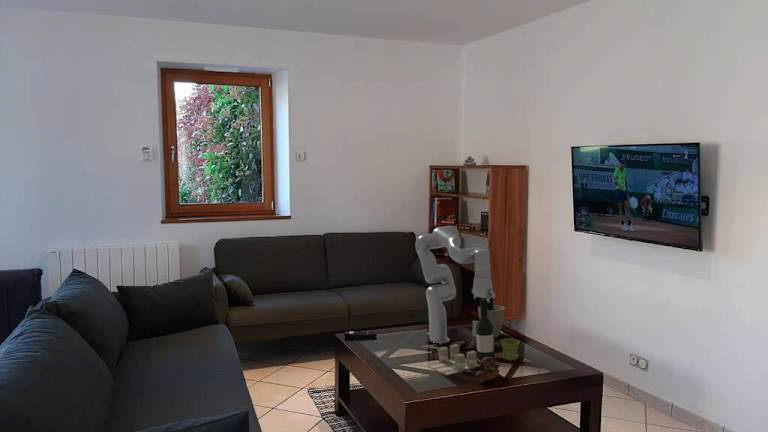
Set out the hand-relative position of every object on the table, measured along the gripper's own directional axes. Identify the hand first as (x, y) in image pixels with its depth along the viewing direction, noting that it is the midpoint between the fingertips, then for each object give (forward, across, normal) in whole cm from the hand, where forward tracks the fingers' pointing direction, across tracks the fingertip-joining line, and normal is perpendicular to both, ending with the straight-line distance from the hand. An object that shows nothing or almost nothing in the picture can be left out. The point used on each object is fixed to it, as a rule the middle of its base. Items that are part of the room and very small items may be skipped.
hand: (483, 308), depth 288 cm
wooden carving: (+26, +24, -18) cm, 39 cm away
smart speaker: (+26, -18, +12) cm, 33 cm away
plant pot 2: (+26, +8, +9) cm, 28 cm away
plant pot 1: (+26, -28, +28) cm, 47 cm away
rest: (+25, 0, -20) cm, 32 cm away
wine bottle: (+26, 0, 0) cm, 26 cm away
